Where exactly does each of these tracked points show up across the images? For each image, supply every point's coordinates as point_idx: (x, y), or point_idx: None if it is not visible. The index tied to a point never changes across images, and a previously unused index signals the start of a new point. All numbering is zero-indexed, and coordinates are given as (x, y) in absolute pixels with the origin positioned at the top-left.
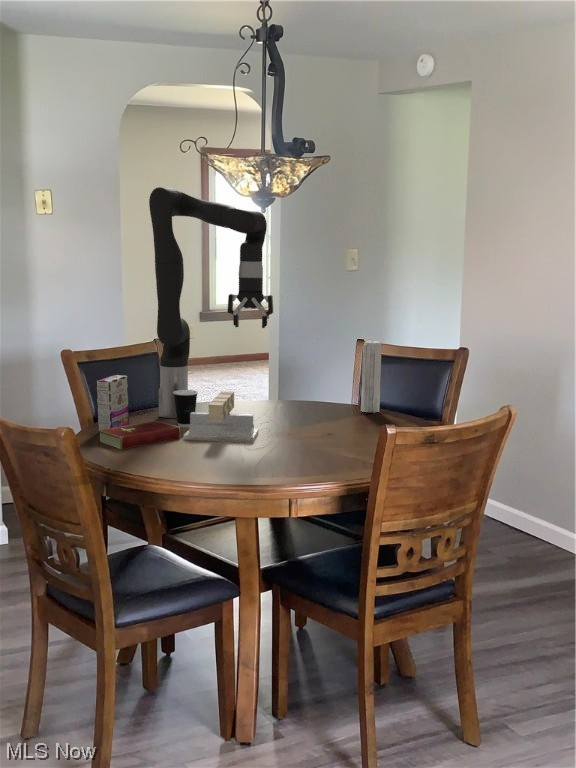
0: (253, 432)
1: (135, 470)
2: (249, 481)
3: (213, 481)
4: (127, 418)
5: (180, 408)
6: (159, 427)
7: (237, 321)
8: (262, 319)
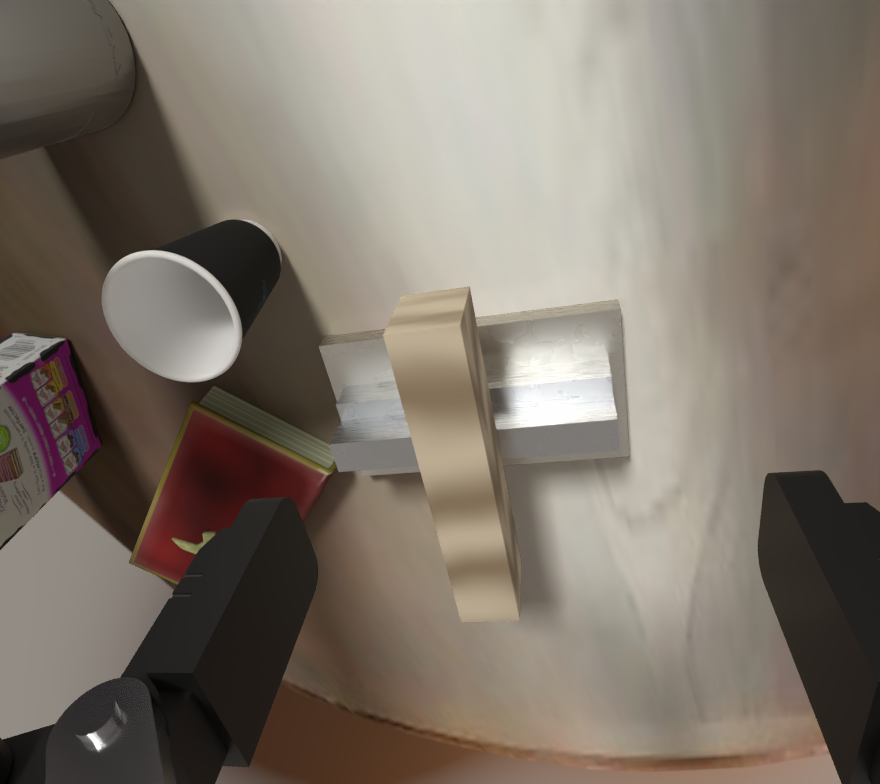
0: (612, 380)
1: (402, 709)
2: (689, 741)
3: (604, 747)
4: (48, 365)
5: (213, 334)
6: (269, 495)
7: (289, 657)
8: (826, 721)
